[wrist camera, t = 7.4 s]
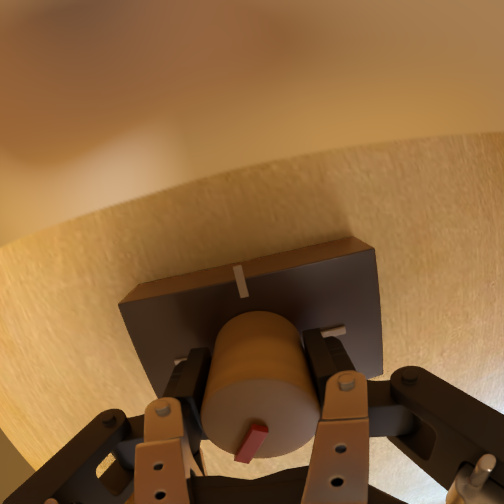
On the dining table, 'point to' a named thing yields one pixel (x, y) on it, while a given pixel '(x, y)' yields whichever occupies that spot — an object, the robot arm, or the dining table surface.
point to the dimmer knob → (259, 389)
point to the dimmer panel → (261, 305)
